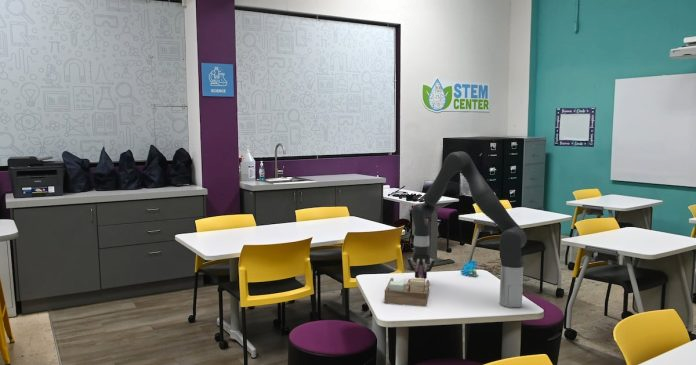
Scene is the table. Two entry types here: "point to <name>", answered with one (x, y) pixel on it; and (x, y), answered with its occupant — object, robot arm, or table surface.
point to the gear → (469, 268)
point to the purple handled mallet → (418, 281)
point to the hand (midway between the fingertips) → (420, 279)
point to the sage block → (396, 286)
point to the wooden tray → (407, 295)
